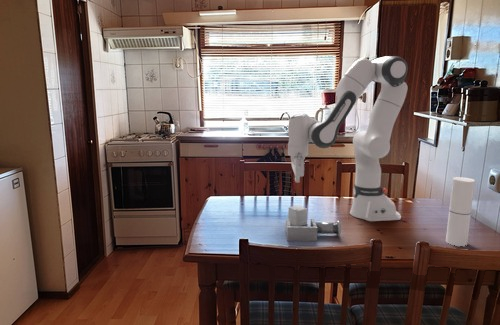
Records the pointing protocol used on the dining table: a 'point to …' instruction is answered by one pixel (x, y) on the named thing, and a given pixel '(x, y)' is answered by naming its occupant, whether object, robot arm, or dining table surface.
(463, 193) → the cylindrical container
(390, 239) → the dining table surface
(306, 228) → the grey compartment organizer
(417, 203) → the dining table surface
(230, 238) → the dining table surface
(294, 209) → the skincare box
